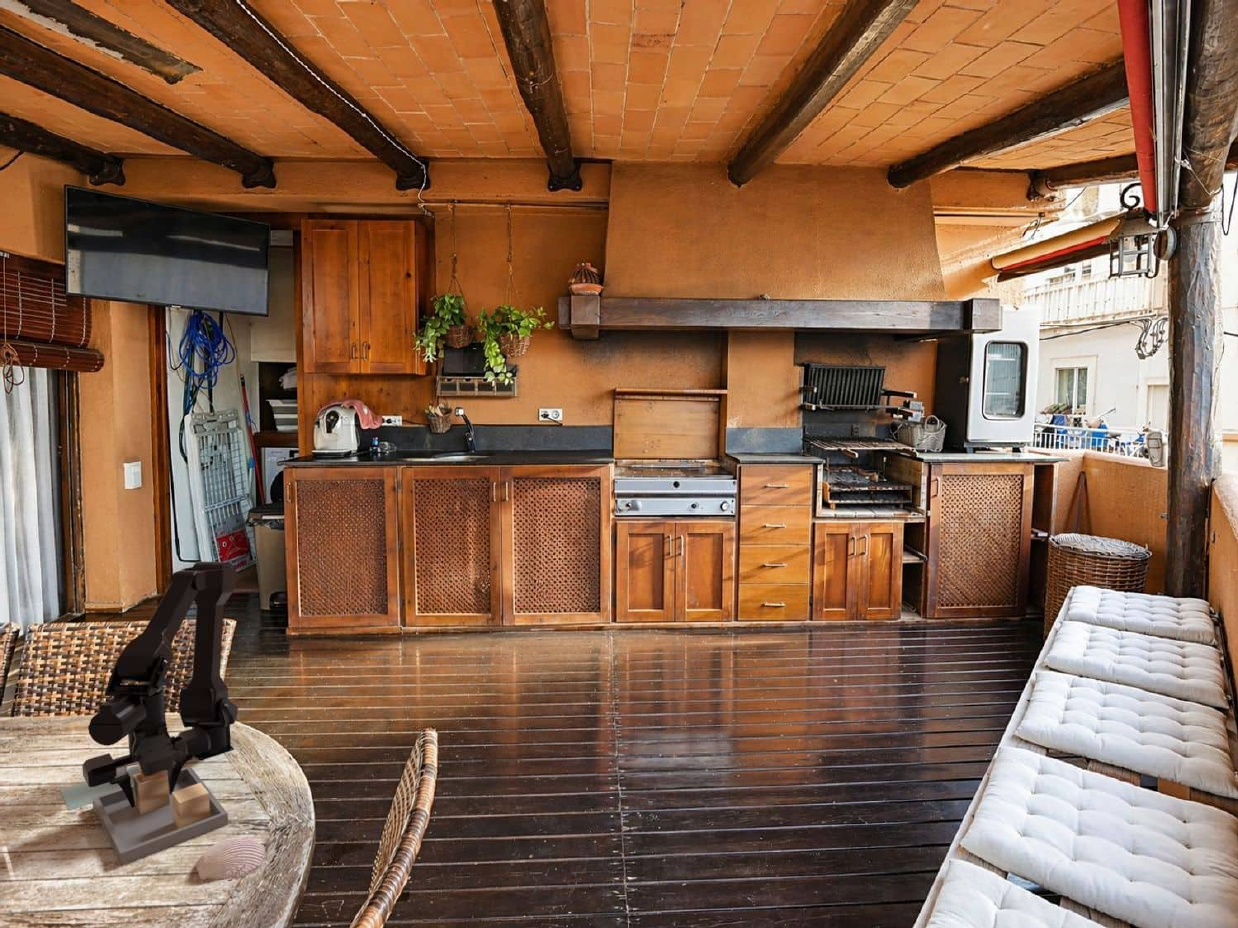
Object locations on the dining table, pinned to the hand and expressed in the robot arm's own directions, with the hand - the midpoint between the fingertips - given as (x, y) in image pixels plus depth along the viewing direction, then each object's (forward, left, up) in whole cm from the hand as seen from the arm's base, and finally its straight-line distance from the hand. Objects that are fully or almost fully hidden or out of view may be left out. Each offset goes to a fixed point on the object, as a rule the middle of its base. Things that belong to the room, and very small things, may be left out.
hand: (151, 799), depth 133 cm
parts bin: (0, +5, -1) cm, 5 cm away
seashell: (-5, +26, -2) cm, 27 cm away
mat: (+5, -12, -1) cm, 14 cm away
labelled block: (0, 0, -1) cm, 1 cm away
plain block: (-3, +11, -1) cm, 12 cm away
